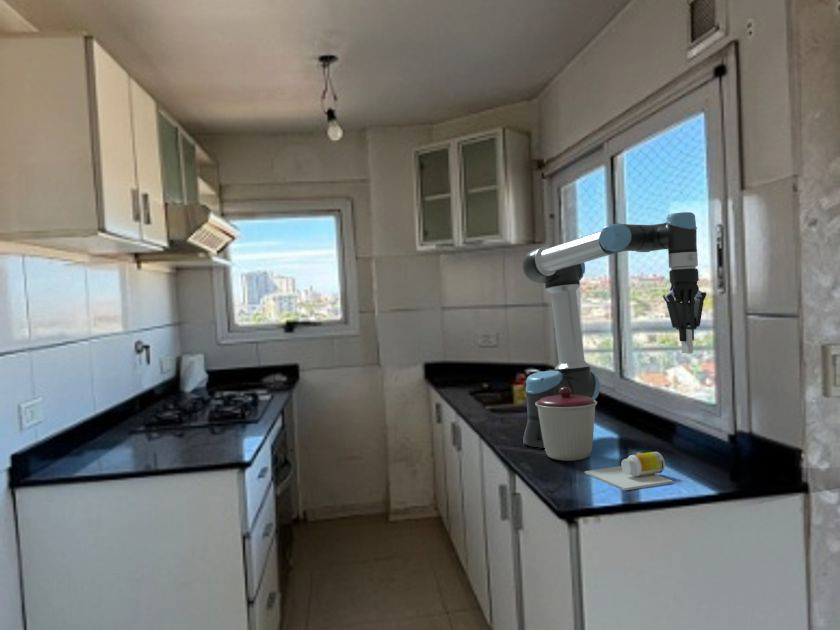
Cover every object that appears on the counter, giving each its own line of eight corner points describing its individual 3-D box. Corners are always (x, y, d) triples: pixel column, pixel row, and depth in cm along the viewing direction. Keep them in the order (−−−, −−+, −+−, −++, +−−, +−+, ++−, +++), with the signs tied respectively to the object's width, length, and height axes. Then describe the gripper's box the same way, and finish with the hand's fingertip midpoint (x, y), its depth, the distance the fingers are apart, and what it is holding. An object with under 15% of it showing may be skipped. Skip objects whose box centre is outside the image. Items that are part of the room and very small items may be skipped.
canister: (526, 455, 199) (523, 386, 198) (576, 447, 205) (573, 381, 205) (559, 467, 182) (555, 393, 181) (612, 459, 188) (609, 387, 188)
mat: (584, 473, 175) (584, 471, 175) (629, 467, 179) (629, 464, 179) (624, 490, 157) (624, 488, 157) (672, 483, 161) (672, 480, 161)
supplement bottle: (656, 446, 170) (623, 451, 167) (668, 462, 166) (635, 467, 162) (649, 461, 173) (616, 466, 170) (661, 477, 169) (628, 482, 166)
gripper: (672, 268, 175) (676, 355, 175) (712, 266, 179) (716, 352, 179) (655, 270, 182) (659, 353, 182) (693, 268, 186) (697, 350, 186)
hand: (687, 352), depth 181 cm, fingers closed
